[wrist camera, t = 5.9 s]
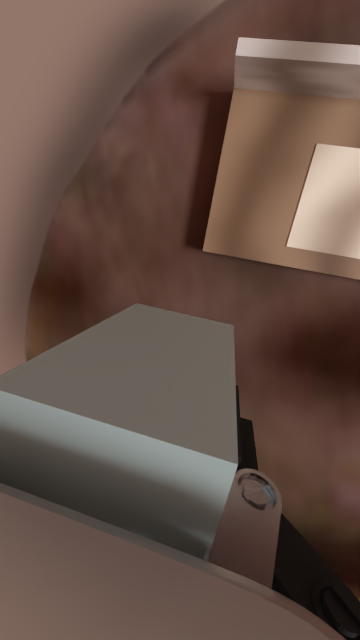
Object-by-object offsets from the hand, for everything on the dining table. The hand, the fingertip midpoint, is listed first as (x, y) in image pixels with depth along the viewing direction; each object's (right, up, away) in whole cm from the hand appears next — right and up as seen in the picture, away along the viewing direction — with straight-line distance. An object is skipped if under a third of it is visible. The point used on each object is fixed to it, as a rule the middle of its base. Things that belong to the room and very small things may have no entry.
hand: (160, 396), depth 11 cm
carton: (0, +1, +2) cm, 2 cm away
